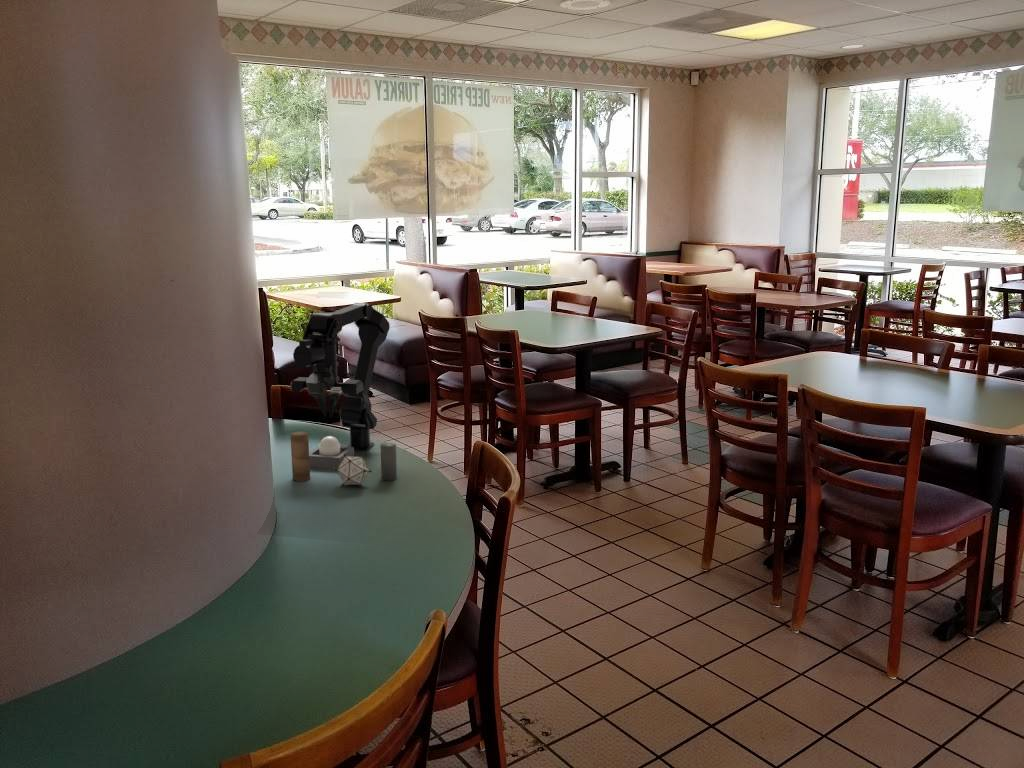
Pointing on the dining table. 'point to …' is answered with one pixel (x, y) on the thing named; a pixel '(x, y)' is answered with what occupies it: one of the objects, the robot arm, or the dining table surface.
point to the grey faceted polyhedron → (353, 470)
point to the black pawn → (388, 461)
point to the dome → (329, 446)
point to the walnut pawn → (300, 456)
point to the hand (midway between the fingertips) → (328, 416)
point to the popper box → (329, 458)
